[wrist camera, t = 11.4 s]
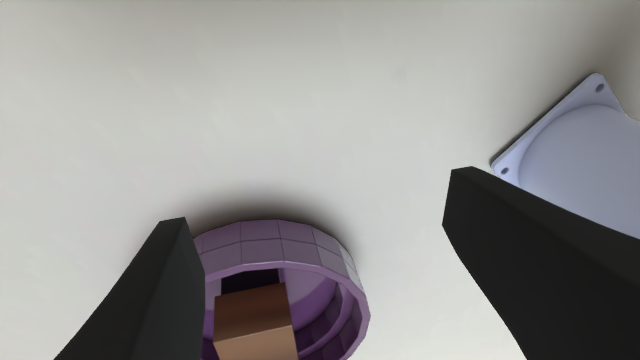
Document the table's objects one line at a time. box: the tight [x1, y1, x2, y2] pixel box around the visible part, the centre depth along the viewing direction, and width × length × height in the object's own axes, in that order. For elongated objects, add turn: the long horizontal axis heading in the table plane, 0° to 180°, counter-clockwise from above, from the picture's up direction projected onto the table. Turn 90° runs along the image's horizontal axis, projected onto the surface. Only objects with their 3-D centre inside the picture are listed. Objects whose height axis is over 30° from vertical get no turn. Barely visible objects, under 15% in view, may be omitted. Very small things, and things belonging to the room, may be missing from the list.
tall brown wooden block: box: [213, 268, 299, 360], centre depth 24 cm, size 8×4×6 cm, turn 4°
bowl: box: [193, 219, 371, 360], centre depth 25 cm, size 14×14×4 cm
